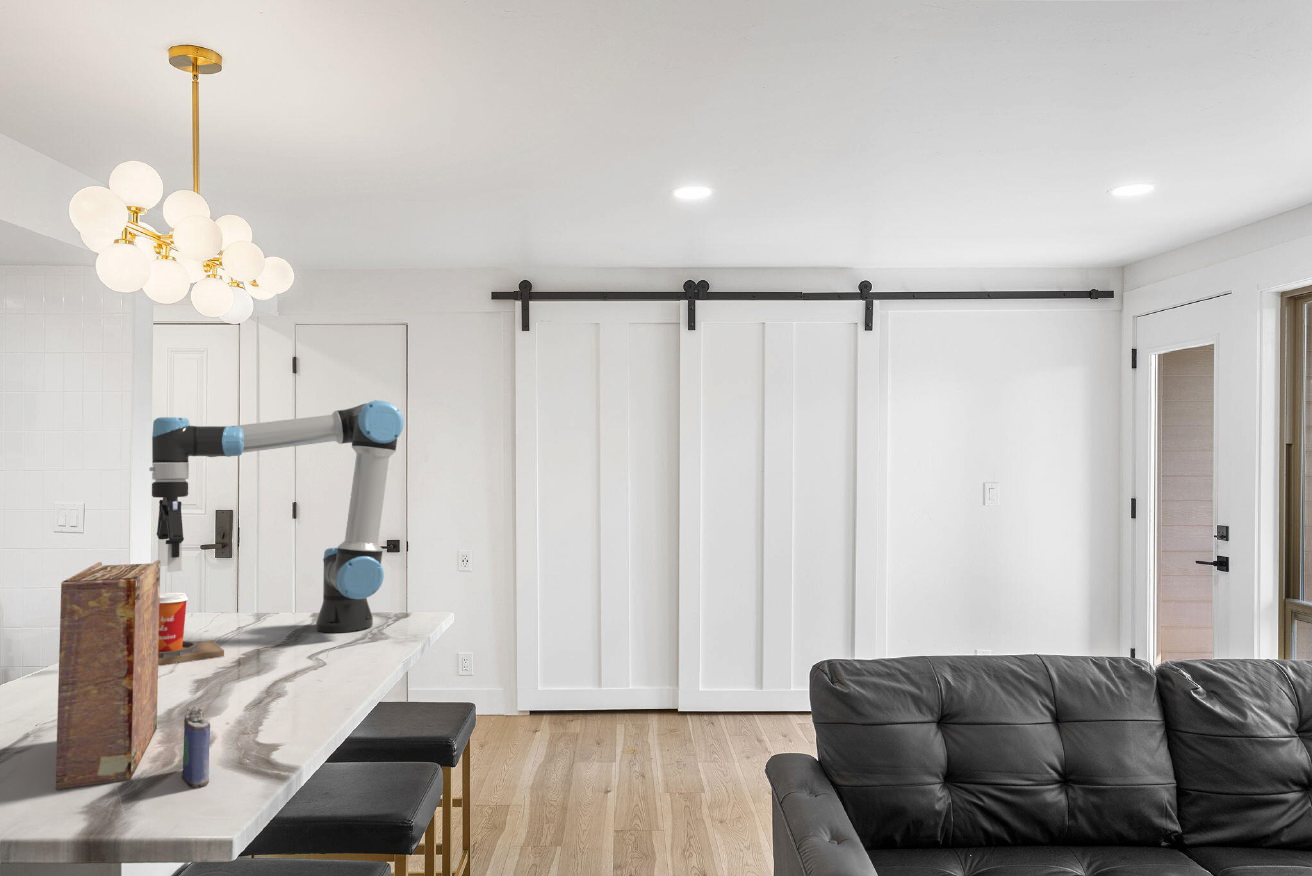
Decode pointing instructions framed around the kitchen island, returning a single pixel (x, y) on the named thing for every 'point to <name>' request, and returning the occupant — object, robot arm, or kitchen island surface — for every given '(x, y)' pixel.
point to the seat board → (191, 652)
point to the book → (107, 672)
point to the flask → (196, 748)
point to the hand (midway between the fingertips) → (169, 568)
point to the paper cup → (171, 621)
